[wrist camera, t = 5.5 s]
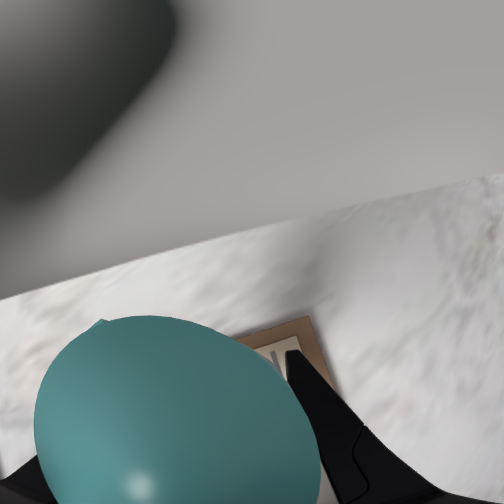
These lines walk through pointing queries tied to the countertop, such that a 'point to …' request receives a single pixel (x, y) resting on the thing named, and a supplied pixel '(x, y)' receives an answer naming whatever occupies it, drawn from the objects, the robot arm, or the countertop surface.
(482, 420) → the countertop surface
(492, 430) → the countertop surface
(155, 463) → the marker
